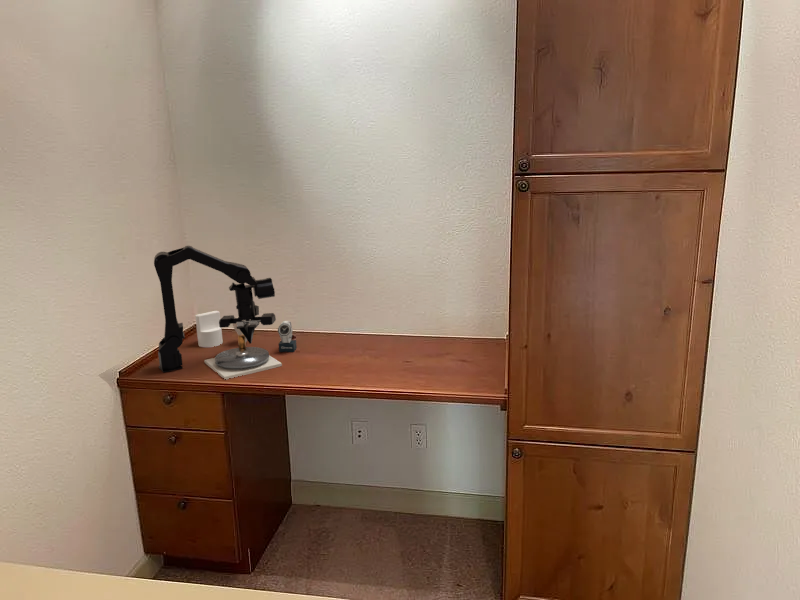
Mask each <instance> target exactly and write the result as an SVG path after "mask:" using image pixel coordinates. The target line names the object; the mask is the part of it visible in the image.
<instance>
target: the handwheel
mask: <svg viewBox="0 0 800 600" xmlns="http://www.w3.org/2000/svg"><path fill="white" fill-rule="evenodd" d="M237 341H238V347H235V348H234V347H233V348H230V349H226V350H223V351H221V352H219V353H218V354H216V355H215V357H214V358H215V363H216V365H217V366H219V367H222V368H227V369H243V368H250V367H254V366H257V365H260V364H263V363H265V362H266V361H267V360H268V359H269V355H270V353H269V351H268V350H267V349H266V348H264V347H263V348H262V347H259V346H257V347H256V346H247V345H246V344H247V342H246V343H245V336H244V335H238V334H237Z"/></svg>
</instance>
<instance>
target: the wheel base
mask: <svg viewBox="0 0 800 600" xmlns="http://www.w3.org/2000/svg"><path fill="white" fill-rule="evenodd" d="M204 364H206V366H208V367H209V368H211V370H213V371H214V372H215V373H216V372H217V373H218V374H217V373H216V374H217V375H218V376H220V377H221V378H222V379H223V378H224V379H223V380H225V379H226V380H230V379H229V378H231V379H234V377H235V378H238V376H239V377H243V376H246V375H251V374H255V373H259V372H263V371H267V370H271V369H275V368H280V367H282V366H283V364H282V362H281V361H279V360H277V359H276V358H274V356H273V357H272V356H271V355H270V354H269V359H268V360H267V361H266V362H265V363H263V364H260V365H257V366H254V367H250V368H243V369H227V368H222V367H219V366H217V365H216V363H215V357H214V358H213V357H211V358H207V359H204ZM242 375H243V376H242Z"/></svg>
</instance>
